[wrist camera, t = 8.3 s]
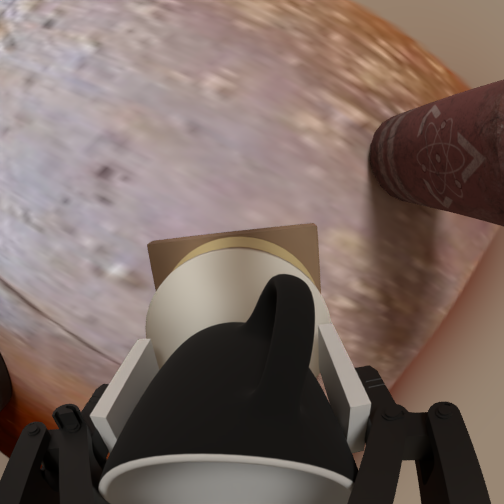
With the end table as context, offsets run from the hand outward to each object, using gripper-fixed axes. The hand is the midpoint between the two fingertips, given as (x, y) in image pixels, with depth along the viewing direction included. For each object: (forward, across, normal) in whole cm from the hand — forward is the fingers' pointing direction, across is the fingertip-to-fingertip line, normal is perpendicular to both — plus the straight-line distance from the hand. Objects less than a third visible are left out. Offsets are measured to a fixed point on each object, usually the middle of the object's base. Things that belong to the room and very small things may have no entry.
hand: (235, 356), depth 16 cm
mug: (+1, 0, 0) cm, 1 cm away
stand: (+6, 0, 0) cm, 6 cm away
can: (+7, +13, +9) cm, 17 cm away
